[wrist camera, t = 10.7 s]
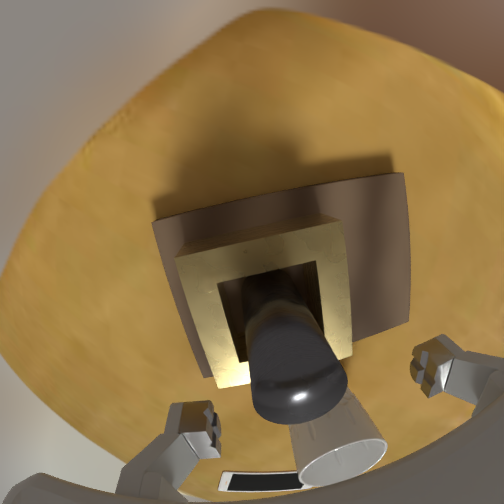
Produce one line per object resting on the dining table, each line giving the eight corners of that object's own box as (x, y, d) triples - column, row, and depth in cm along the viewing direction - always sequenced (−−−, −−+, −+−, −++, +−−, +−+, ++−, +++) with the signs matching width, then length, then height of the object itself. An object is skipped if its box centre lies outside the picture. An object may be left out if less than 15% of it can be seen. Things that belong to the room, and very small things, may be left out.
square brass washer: (320, 212, 19) (342, 220, 15) (334, 329, 22) (352, 355, 18) (184, 243, 19) (174, 258, 15) (219, 357, 22) (218, 388, 18)
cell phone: (310, 485, 33) (311, 488, 32) (217, 488, 31) (217, 490, 30) (326, 465, 31) (327, 468, 31) (222, 468, 29) (223, 472, 28)
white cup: (278, 374, 24) (300, 455, 15) (353, 359, 25) (398, 426, 15) (280, 422, 26) (296, 493, 17) (345, 408, 27) (375, 471, 17)
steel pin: (289, 260, 20) (346, 345, 9) (297, 308, 21) (347, 409, 10) (235, 273, 20) (242, 372, 9) (247, 320, 21) (262, 431, 10)
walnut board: (393, 172, 21) (403, 172, 19) (401, 314, 24) (408, 321, 23) (156, 219, 20) (151, 222, 18) (204, 368, 24) (203, 377, 22)
